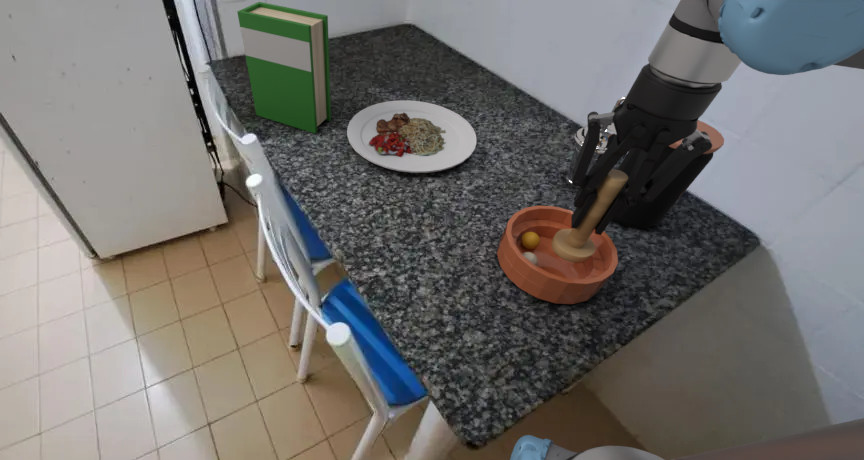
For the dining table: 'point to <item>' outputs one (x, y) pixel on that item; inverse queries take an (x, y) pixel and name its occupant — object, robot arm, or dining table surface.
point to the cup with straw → (602, 145)
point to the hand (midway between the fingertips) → (585, 225)
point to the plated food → (411, 136)
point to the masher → (588, 221)
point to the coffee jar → (658, 208)
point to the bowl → (553, 258)
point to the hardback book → (287, 64)
